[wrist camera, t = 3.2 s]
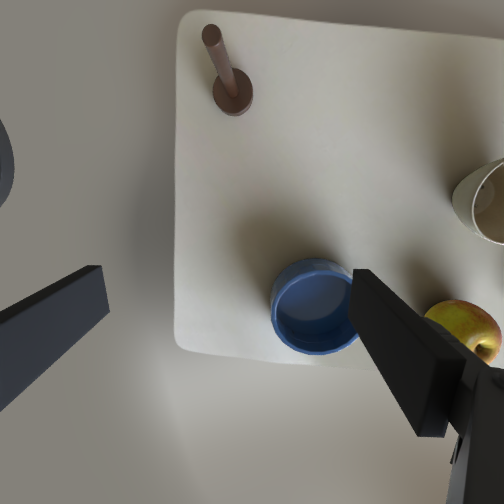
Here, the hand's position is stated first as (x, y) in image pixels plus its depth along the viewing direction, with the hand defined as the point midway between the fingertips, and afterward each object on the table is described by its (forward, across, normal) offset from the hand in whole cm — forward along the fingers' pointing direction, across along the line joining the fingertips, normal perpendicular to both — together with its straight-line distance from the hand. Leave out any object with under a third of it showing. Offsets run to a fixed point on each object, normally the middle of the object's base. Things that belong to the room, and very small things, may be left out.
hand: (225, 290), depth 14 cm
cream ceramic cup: (+25, +30, +3) cm, 39 cm away
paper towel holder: (+25, -2, +15) cm, 29 cm away
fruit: (+25, +30, -16) cm, 42 cm away
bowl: (+25, +10, -13) cm, 29 cm away
